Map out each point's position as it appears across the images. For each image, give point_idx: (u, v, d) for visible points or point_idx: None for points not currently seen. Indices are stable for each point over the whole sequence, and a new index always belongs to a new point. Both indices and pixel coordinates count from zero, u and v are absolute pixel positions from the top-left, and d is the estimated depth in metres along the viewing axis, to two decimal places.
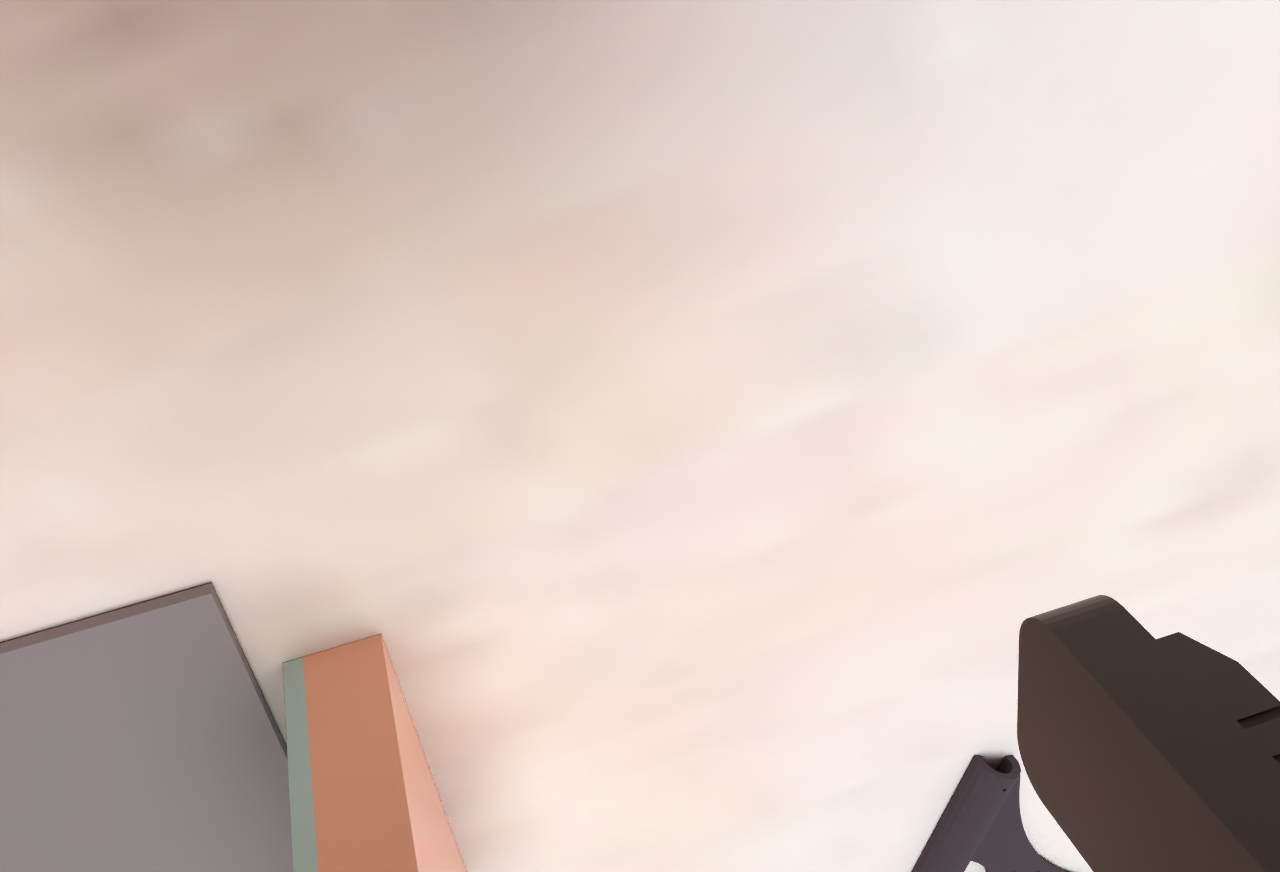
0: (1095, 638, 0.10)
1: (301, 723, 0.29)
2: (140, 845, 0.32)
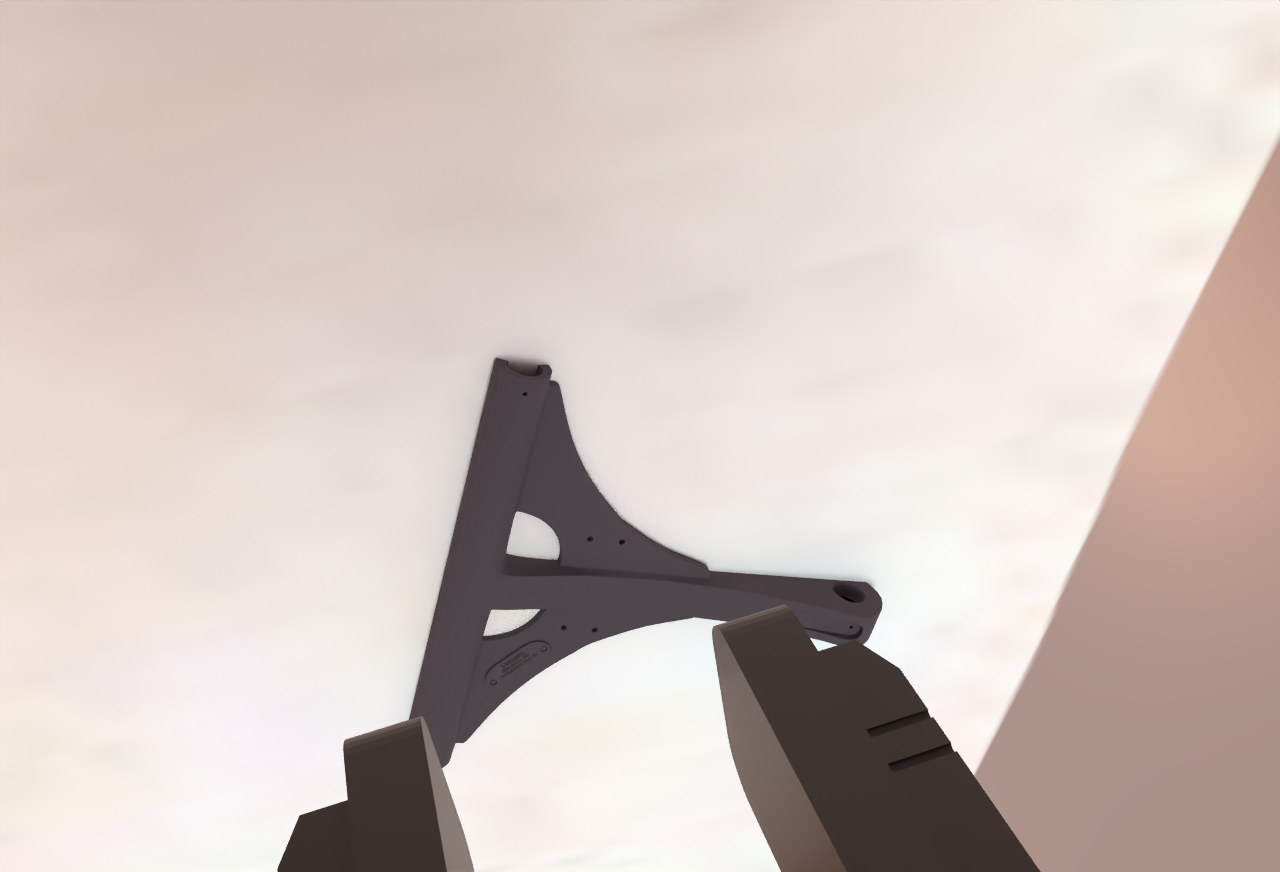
0: (761, 646, 0.11)
1: None
2: None
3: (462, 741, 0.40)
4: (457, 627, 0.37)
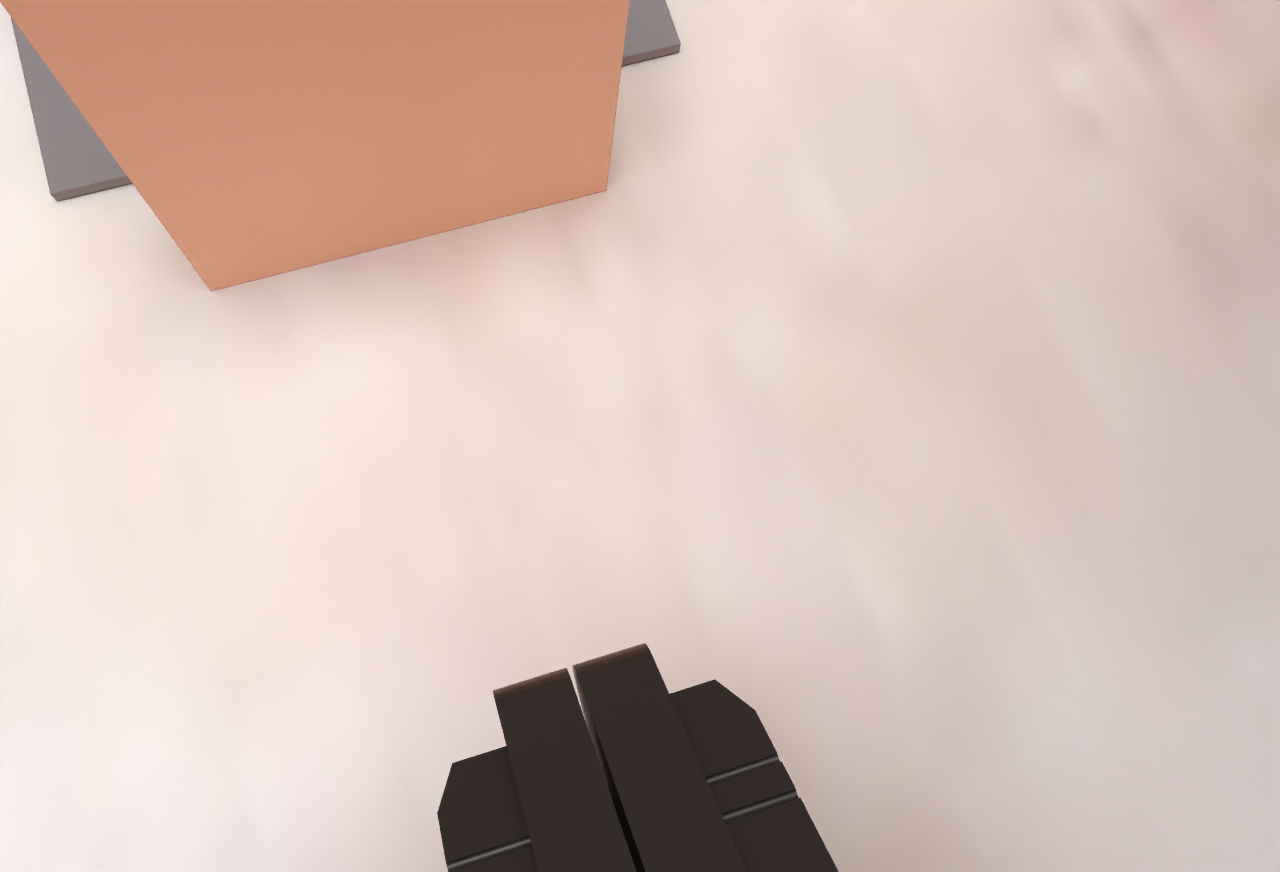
0: (614, 687, 0.10)
1: None
2: None
3: None
4: None
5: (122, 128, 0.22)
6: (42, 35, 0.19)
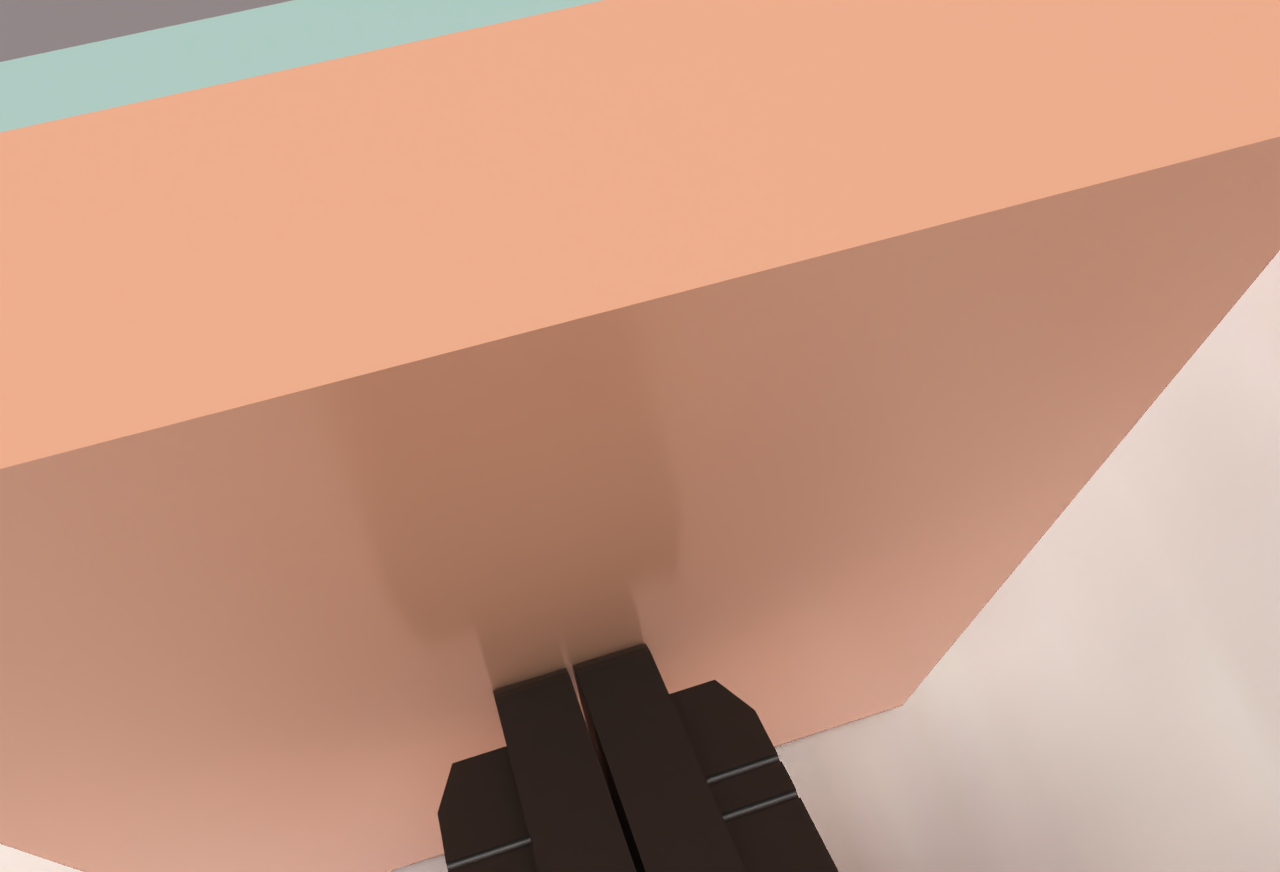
0: (614, 687, 0.10)
1: None
2: None
3: None
4: None
5: (13, 811, 0.10)
6: None
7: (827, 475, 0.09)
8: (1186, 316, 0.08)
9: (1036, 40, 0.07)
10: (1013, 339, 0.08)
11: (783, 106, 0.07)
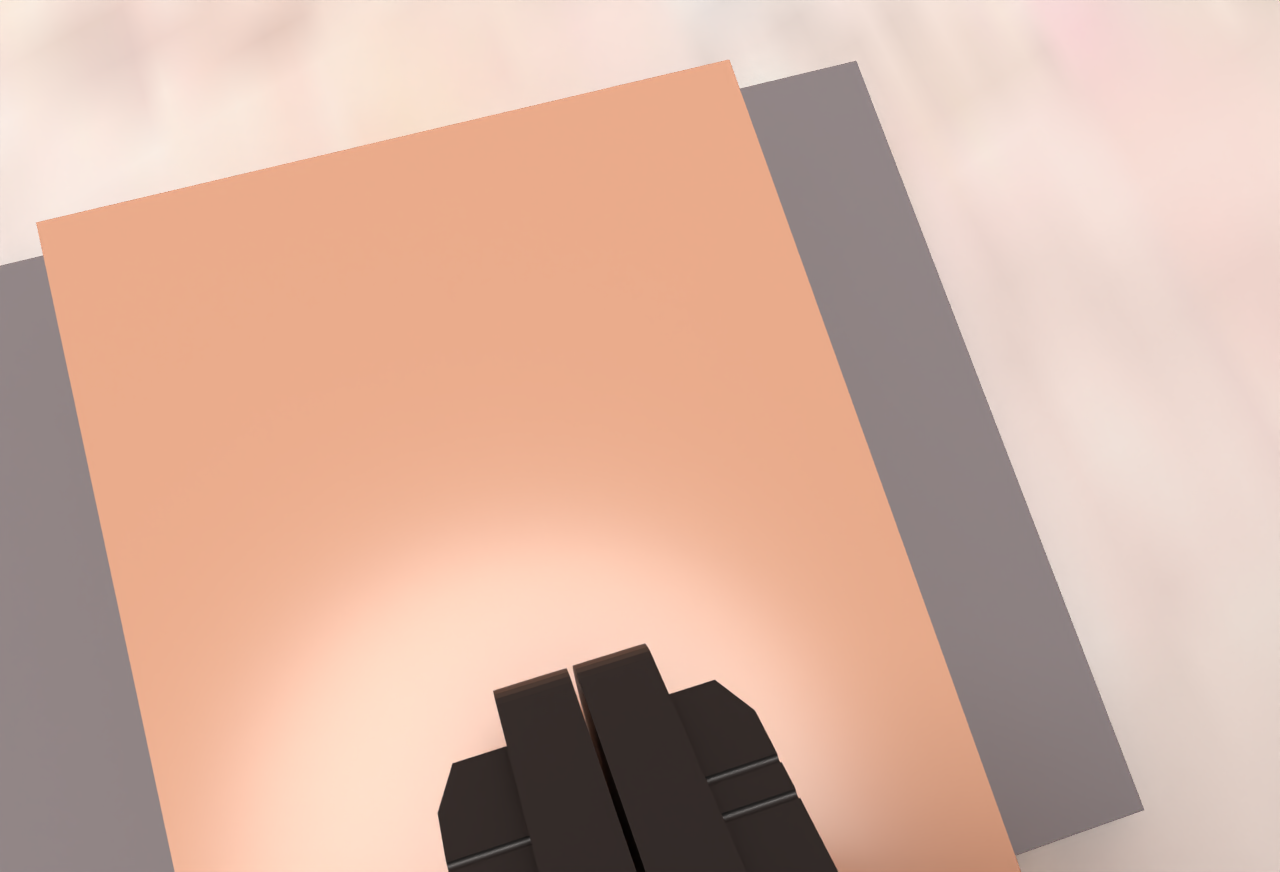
0: (614, 687, 0.10)
1: None
2: None
3: None
4: None
5: (148, 573, 0.16)
6: (83, 355, 0.16)
7: (601, 289, 0.17)
8: (746, 183, 0.18)
9: None
10: (644, 182, 0.17)
11: None
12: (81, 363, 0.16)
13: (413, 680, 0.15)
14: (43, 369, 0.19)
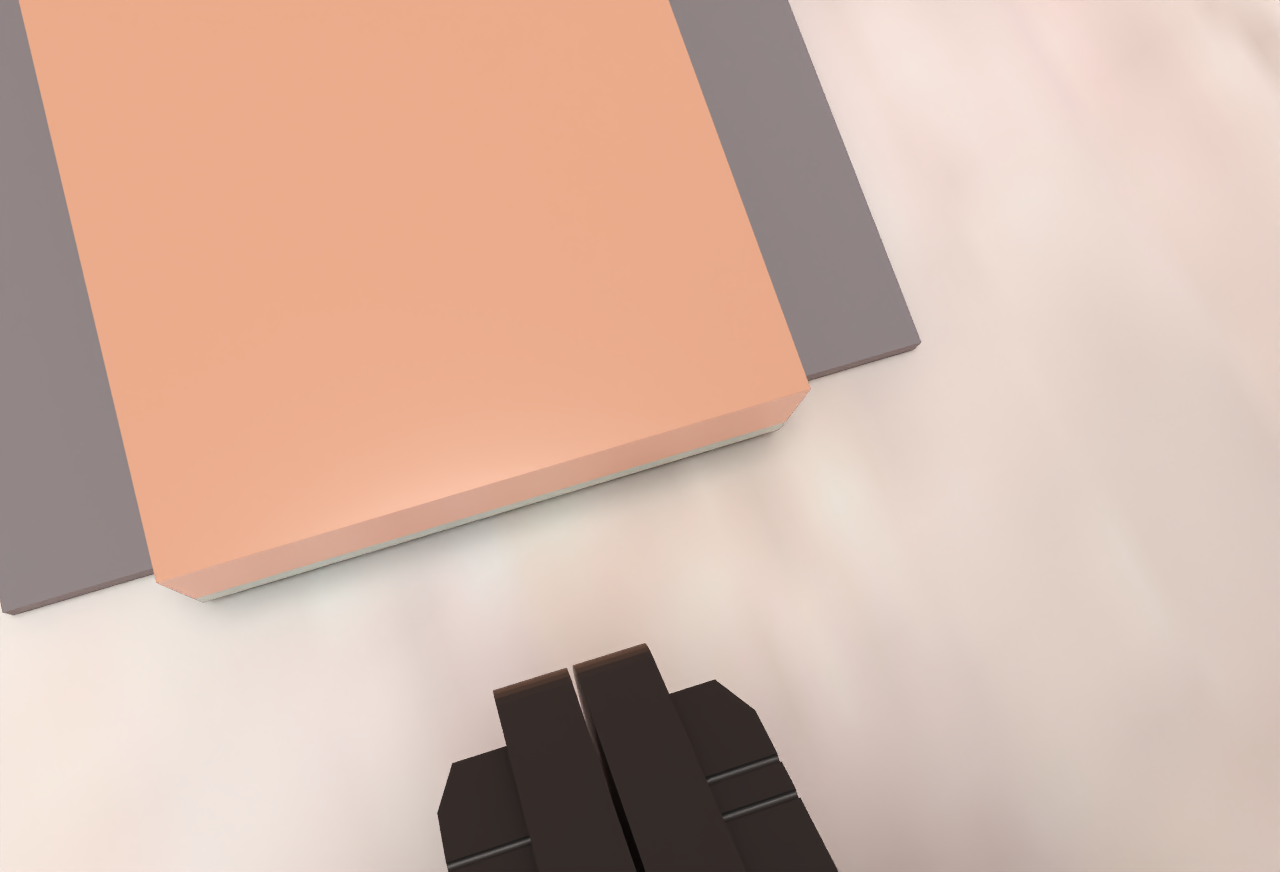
0: (614, 687, 0.10)
1: None
2: None
3: None
4: None
5: (71, 90, 0.19)
6: None
7: None
8: None
9: None
10: None
11: None
12: None
13: (288, 174, 0.19)
14: None
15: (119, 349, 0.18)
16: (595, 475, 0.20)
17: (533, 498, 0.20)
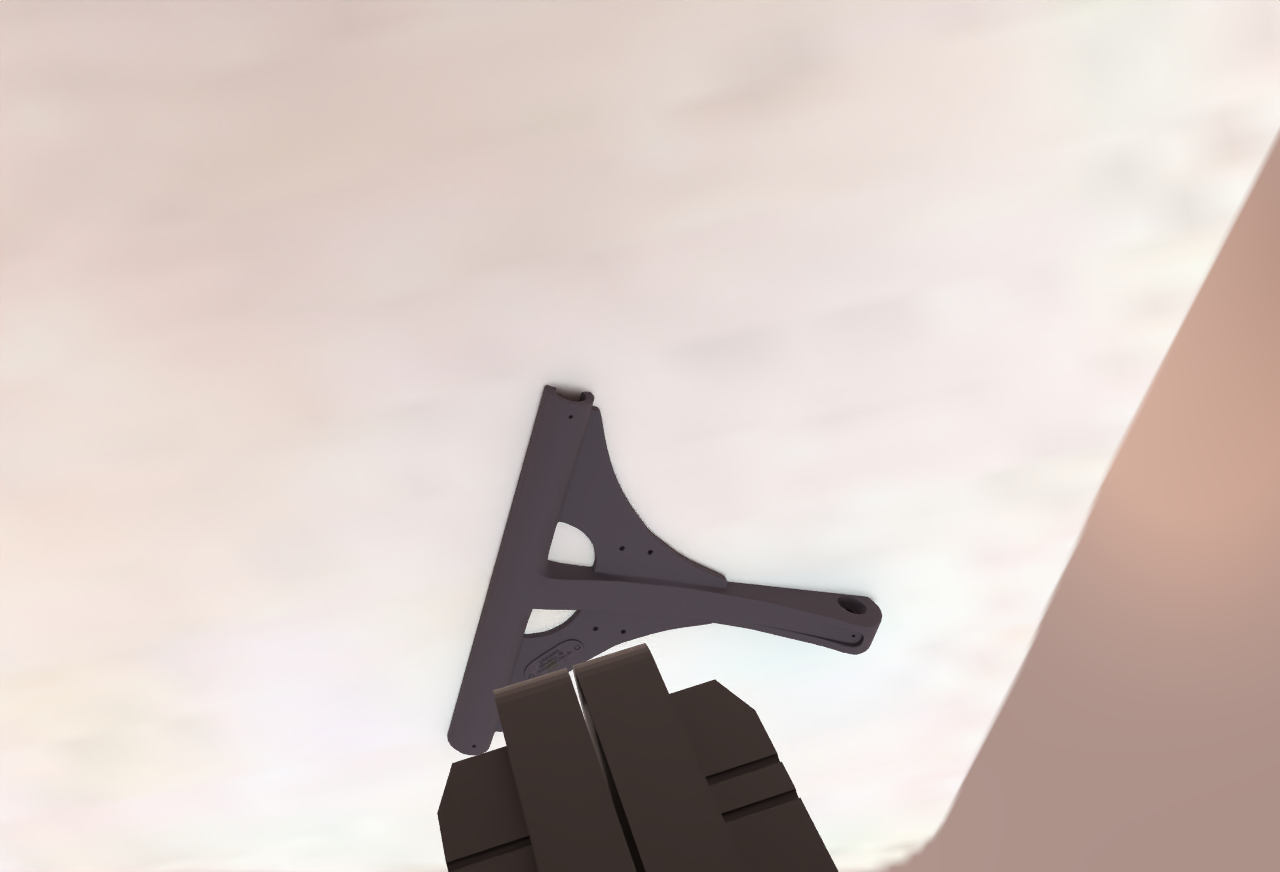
0: (614, 687, 0.10)
1: None
2: None
3: (501, 730, 0.45)
4: (502, 624, 0.42)
5: None
6: None
7: None
8: None
9: None
10: None
11: None
12: None
13: None
14: None
15: None
16: None
17: None
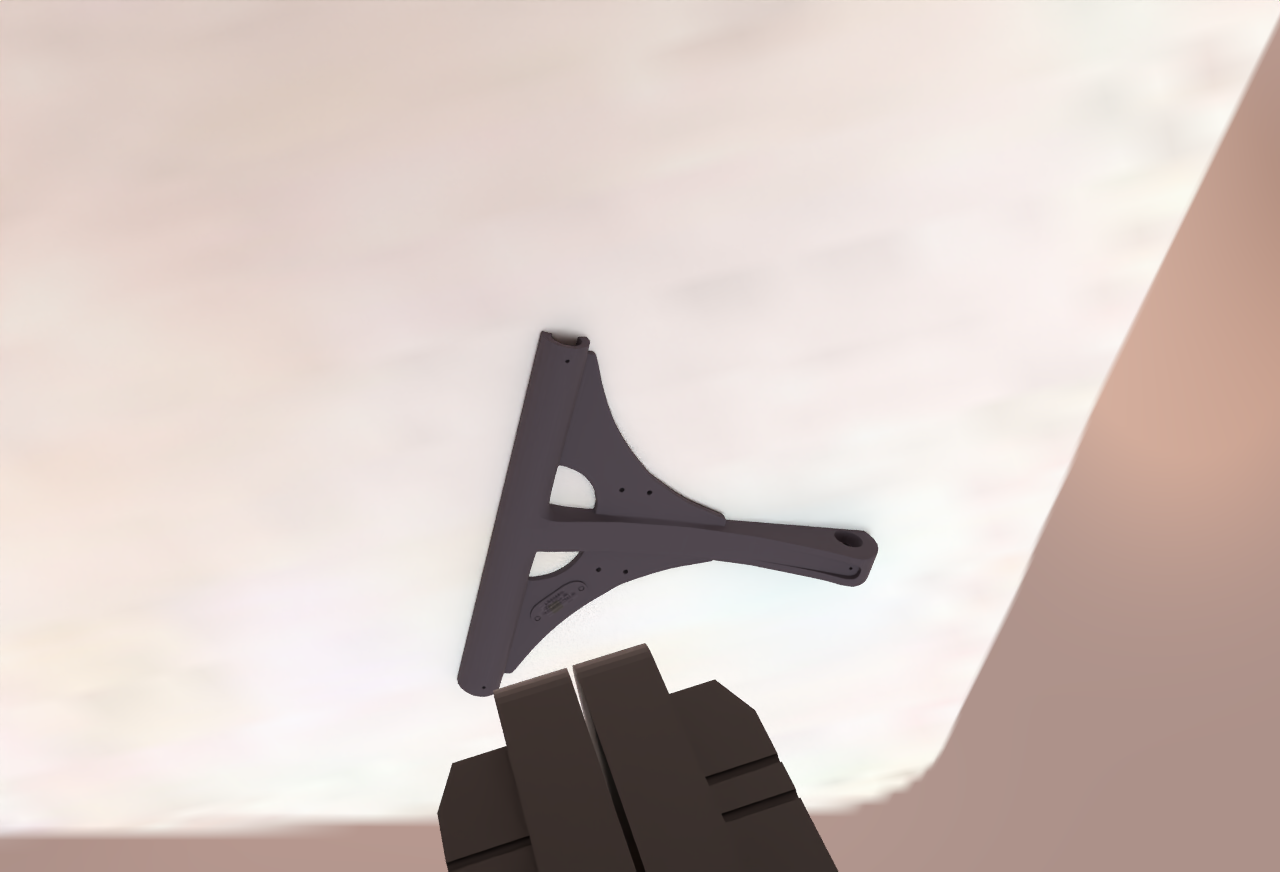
0: (614, 687, 0.10)
1: None
2: None
3: (509, 671, 0.46)
4: (507, 567, 0.43)
5: None
6: None
7: None
8: None
9: None
10: None
11: None
12: None
13: None
14: None
15: None
16: None
17: None
